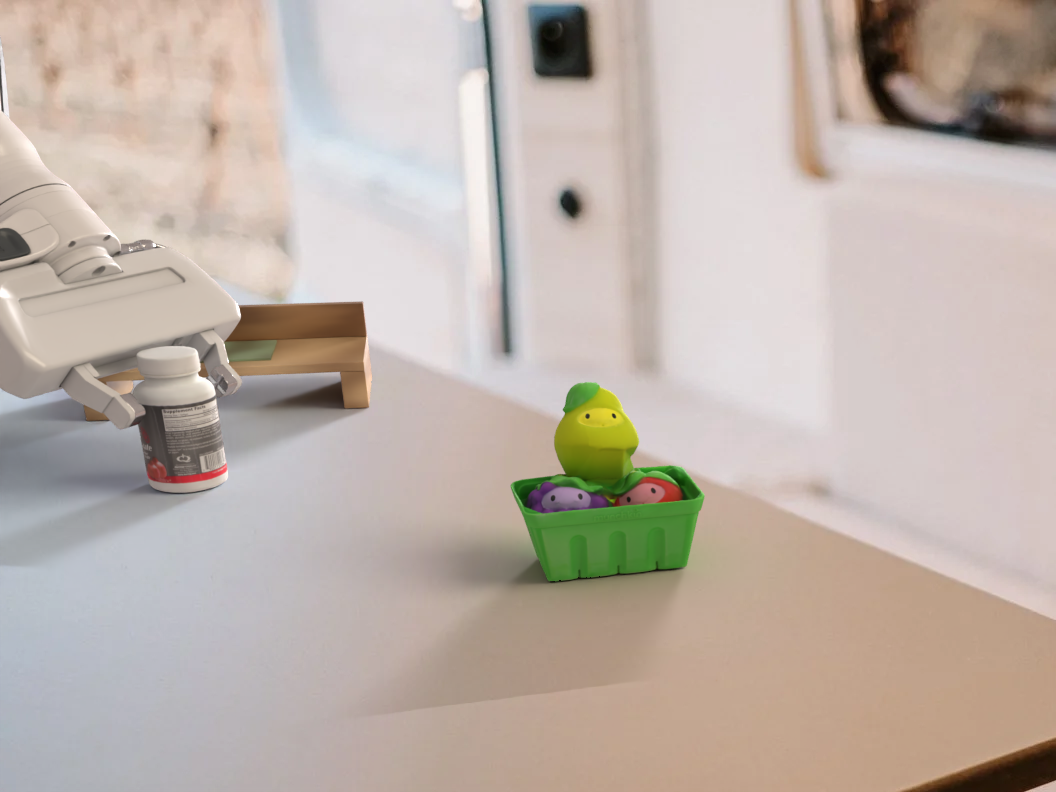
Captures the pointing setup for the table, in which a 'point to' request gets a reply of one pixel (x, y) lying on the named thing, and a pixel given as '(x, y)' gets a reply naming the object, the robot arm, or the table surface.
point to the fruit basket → (606, 498)
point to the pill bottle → (179, 422)
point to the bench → (289, 347)
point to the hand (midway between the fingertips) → (184, 406)
